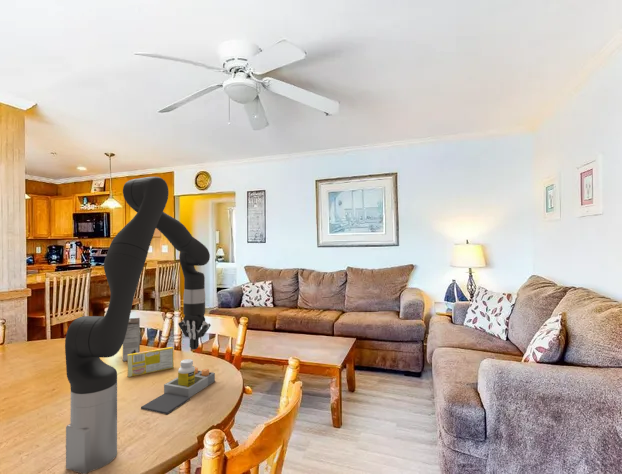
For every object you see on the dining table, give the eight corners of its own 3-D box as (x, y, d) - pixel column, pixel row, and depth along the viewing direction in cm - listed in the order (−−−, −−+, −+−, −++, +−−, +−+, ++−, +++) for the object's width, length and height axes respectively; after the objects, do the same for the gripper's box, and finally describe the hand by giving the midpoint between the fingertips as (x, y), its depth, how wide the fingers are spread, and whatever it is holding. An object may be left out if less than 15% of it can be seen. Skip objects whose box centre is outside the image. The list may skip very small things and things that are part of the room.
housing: (188, 398, 110) (188, 388, 110) (164, 393, 114) (164, 384, 114) (214, 381, 123) (214, 372, 123) (192, 377, 127) (192, 369, 127)
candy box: (172, 366, 138) (172, 346, 138) (173, 368, 136) (173, 347, 136) (127, 375, 129) (127, 353, 129) (127, 377, 127) (127, 355, 128)
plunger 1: (194, 378, 122) (194, 370, 122) (188, 377, 123) (188, 369, 123) (199, 375, 125) (199, 367, 125) (193, 375, 126) (193, 366, 126)
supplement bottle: (189, 393, 113) (189, 364, 113) (174, 392, 114) (174, 363, 115) (197, 386, 119) (197, 358, 119) (183, 385, 120) (183, 357, 120)
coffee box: (123, 355, 152) (123, 318, 152) (140, 352, 155) (139, 317, 155) (122, 361, 144) (122, 323, 144) (139, 359, 146) (139, 321, 147)
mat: (167, 414, 100) (167, 412, 100) (140, 408, 103) (140, 406, 103) (190, 399, 109) (190, 397, 109) (165, 394, 113) (165, 392, 113)
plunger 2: (206, 380, 121) (206, 372, 121) (200, 379, 122) (200, 371, 122) (210, 377, 123) (210, 369, 123) (204, 376, 124) (204, 368, 124)
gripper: (172, 301, 123) (172, 350, 123) (202, 303, 119) (202, 354, 118) (186, 298, 130) (186, 344, 130) (215, 300, 126) (215, 347, 125)
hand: (194, 348), depth 124 cm, fingers closed
